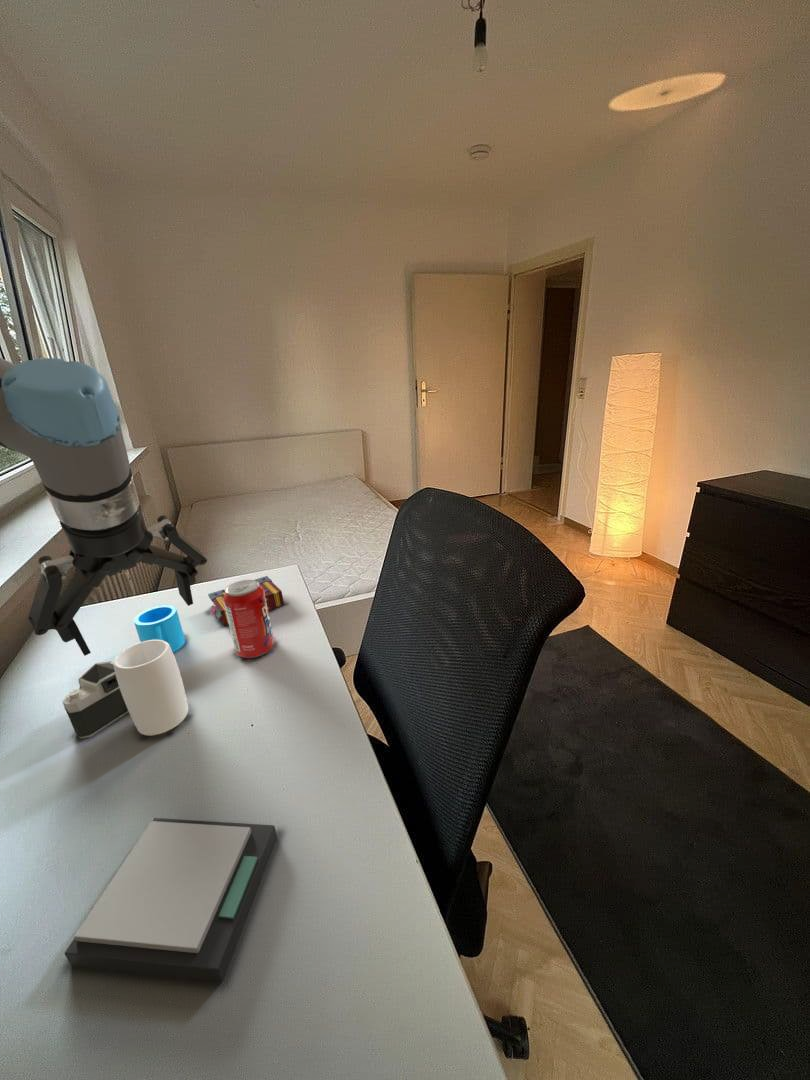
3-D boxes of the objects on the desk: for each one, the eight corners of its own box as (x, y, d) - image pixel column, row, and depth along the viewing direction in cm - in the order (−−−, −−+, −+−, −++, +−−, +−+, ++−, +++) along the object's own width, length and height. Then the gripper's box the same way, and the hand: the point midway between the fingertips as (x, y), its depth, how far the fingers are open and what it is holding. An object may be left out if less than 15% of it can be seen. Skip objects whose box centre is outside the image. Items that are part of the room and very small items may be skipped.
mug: (144, 644, 98) (134, 612, 95) (184, 632, 102) (175, 601, 99) (143, 673, 88) (132, 638, 85) (188, 659, 92) (178, 625, 89)
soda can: (228, 658, 91) (212, 593, 86) (251, 637, 98) (238, 576, 93) (260, 663, 89) (246, 597, 83) (282, 641, 96) (270, 579, 90)
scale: (71, 967, 44) (60, 948, 43) (159, 830, 57) (152, 813, 56) (223, 984, 42) (215, 964, 41) (277, 838, 55) (273, 820, 54)
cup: (138, 751, 69) (111, 677, 64) (134, 719, 76) (109, 650, 71) (196, 726, 74) (174, 655, 69) (188, 698, 80) (167, 632, 75)
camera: (151, 672, 88) (137, 629, 85) (176, 685, 84) (163, 640, 80) (61, 726, 76) (40, 678, 72) (86, 744, 71) (65, 694, 68)
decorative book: (285, 606, 110) (282, 588, 108) (218, 630, 102) (214, 611, 100) (269, 590, 119) (266, 573, 117) (207, 611, 110) (202, 593, 109)
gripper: (-41, 584, 39) (42, 694, 53) (227, 492, 54) (234, 597, 68) (-64, 532, 41) (20, 650, 56) (196, 459, 57) (209, 567, 71)
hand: (138, 621), depth 62 cm, fingers open, 13 cm apart
